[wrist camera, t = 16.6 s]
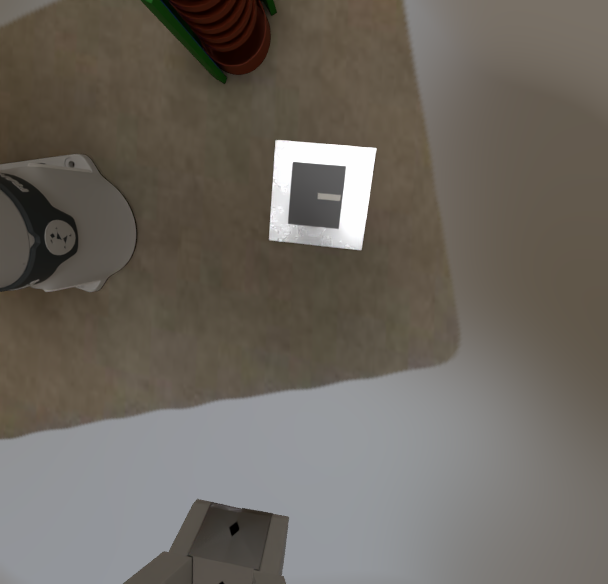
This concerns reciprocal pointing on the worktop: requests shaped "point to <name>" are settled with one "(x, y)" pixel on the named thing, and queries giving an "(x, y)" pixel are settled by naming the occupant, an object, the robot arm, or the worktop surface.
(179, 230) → the worktop surface
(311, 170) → the dark grey cube
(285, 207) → the shaft plate
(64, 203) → the robot arm
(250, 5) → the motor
